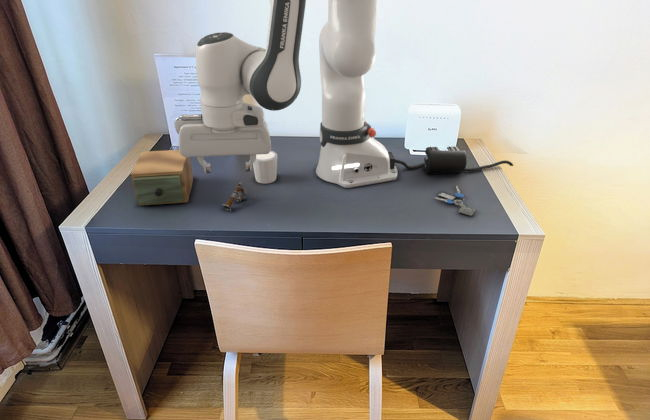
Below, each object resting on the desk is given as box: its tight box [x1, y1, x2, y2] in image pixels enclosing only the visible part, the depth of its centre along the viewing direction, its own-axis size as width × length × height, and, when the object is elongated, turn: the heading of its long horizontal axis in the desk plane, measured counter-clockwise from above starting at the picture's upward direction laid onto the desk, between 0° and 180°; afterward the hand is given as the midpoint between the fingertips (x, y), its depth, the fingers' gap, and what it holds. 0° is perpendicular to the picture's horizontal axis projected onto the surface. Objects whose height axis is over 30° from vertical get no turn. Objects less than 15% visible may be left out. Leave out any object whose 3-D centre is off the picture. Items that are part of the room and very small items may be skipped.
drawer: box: [132, 174, 185, 206], centre depth 106 cm, size 13×10×7 cm
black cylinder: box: [423, 146, 468, 175], centre depth 118 cm, size 10×7×7 cm
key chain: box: [434, 185, 476, 217], centre depth 106 cm, size 14×8×1 cm, turn 6°
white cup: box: [252, 150, 278, 184], centre depth 114 cm, size 7×7×7 cm
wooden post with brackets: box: [221, 181, 247, 212], centre depth 105 cm, size 2×8×4 cm, turn 155°
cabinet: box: [130, 149, 194, 206], centre depth 108 cm, size 13×12×9 cm
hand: (228, 171), depth 100 cm, fingers open, 8 cm apart
